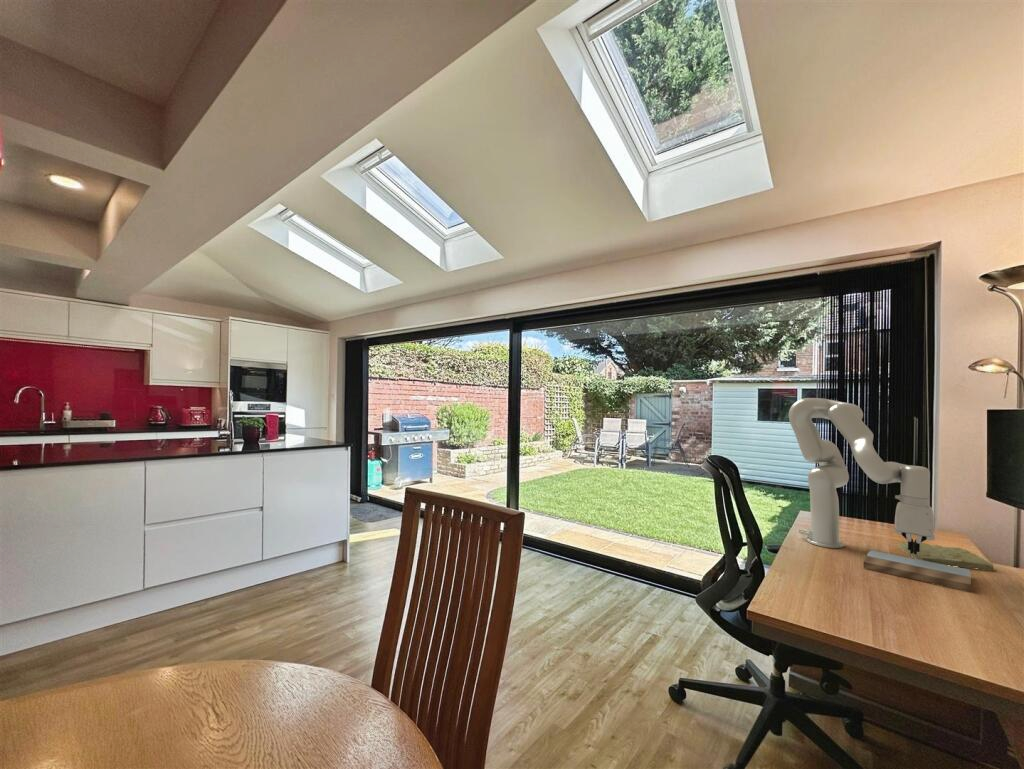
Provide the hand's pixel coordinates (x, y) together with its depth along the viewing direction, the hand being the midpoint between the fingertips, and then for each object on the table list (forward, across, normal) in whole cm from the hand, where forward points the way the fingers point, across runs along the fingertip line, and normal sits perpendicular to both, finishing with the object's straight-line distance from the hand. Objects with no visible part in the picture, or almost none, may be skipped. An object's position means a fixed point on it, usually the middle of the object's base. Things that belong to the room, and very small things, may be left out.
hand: (913, 552), depth 154 cm
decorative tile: (+6, +7, +20) cm, 22 cm away
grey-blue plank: (+5, +1, -2) cm, 5 cm away
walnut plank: (+5, +1, -10) cm, 12 cm away
